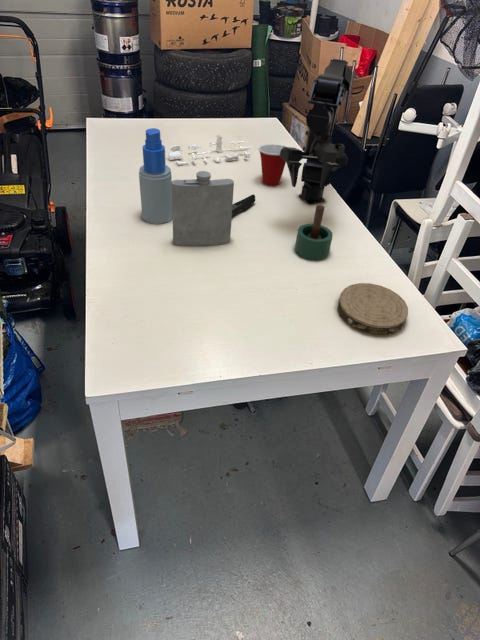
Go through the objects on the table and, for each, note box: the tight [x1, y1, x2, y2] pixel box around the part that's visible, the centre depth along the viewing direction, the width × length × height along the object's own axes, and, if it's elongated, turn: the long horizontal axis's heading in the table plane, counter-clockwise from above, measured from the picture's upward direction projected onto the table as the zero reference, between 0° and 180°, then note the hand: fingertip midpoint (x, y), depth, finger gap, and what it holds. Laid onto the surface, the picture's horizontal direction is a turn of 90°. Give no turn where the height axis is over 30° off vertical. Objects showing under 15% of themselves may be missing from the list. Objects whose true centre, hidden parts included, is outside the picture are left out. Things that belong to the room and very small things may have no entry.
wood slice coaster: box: [336, 282, 409, 337], centre depth 108 cm, size 16×16×3 cm
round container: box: [294, 223, 334, 262], centre depth 126 cm, size 9×9×6 cm
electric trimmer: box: [232, 194, 256, 217], centre depth 142 cm, size 4×16×3 cm, turn 143°
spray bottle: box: [138, 127, 173, 225], centre depth 128 cm, size 9×9×25 cm
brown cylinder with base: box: [307, 204, 325, 239], centre depth 124 cm, size 4×4×13 cm
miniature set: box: [168, 134, 252, 166], centre depth 171 cm, size 6×35×12 cm
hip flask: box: [171, 170, 235, 247], centre depth 121 cm, size 16×4×20 cm, turn 101°
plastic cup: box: [258, 143, 287, 187], centre depth 156 cm, size 11×11×12 cm
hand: (307, 187), depth 131 cm, fingers open, 9 cm apart
